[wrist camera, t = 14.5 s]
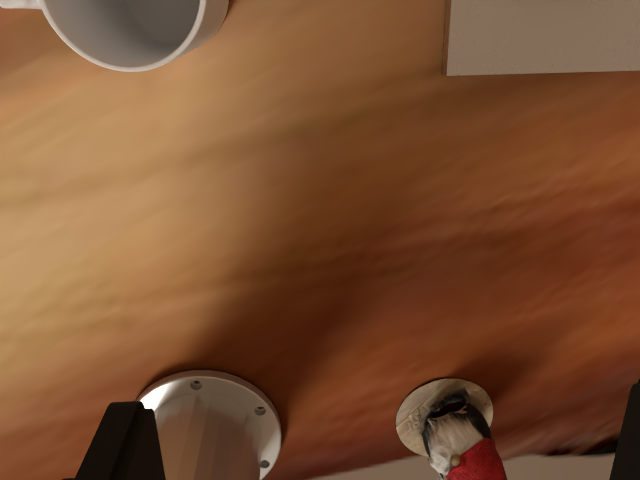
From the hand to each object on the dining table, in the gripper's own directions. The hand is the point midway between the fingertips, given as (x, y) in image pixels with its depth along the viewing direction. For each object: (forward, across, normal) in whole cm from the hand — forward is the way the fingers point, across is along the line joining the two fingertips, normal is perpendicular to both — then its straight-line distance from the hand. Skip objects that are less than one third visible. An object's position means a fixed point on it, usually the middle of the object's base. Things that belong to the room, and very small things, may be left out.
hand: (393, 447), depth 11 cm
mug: (+28, +10, -9) cm, 32 cm away
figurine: (+29, -10, +24) cm, 39 cm away
